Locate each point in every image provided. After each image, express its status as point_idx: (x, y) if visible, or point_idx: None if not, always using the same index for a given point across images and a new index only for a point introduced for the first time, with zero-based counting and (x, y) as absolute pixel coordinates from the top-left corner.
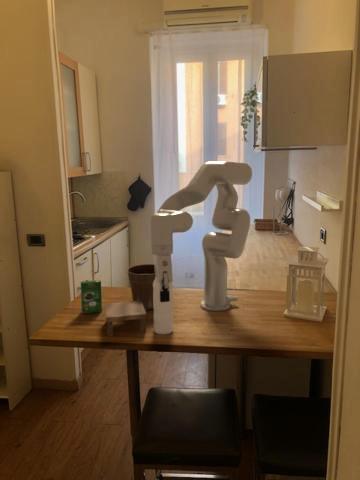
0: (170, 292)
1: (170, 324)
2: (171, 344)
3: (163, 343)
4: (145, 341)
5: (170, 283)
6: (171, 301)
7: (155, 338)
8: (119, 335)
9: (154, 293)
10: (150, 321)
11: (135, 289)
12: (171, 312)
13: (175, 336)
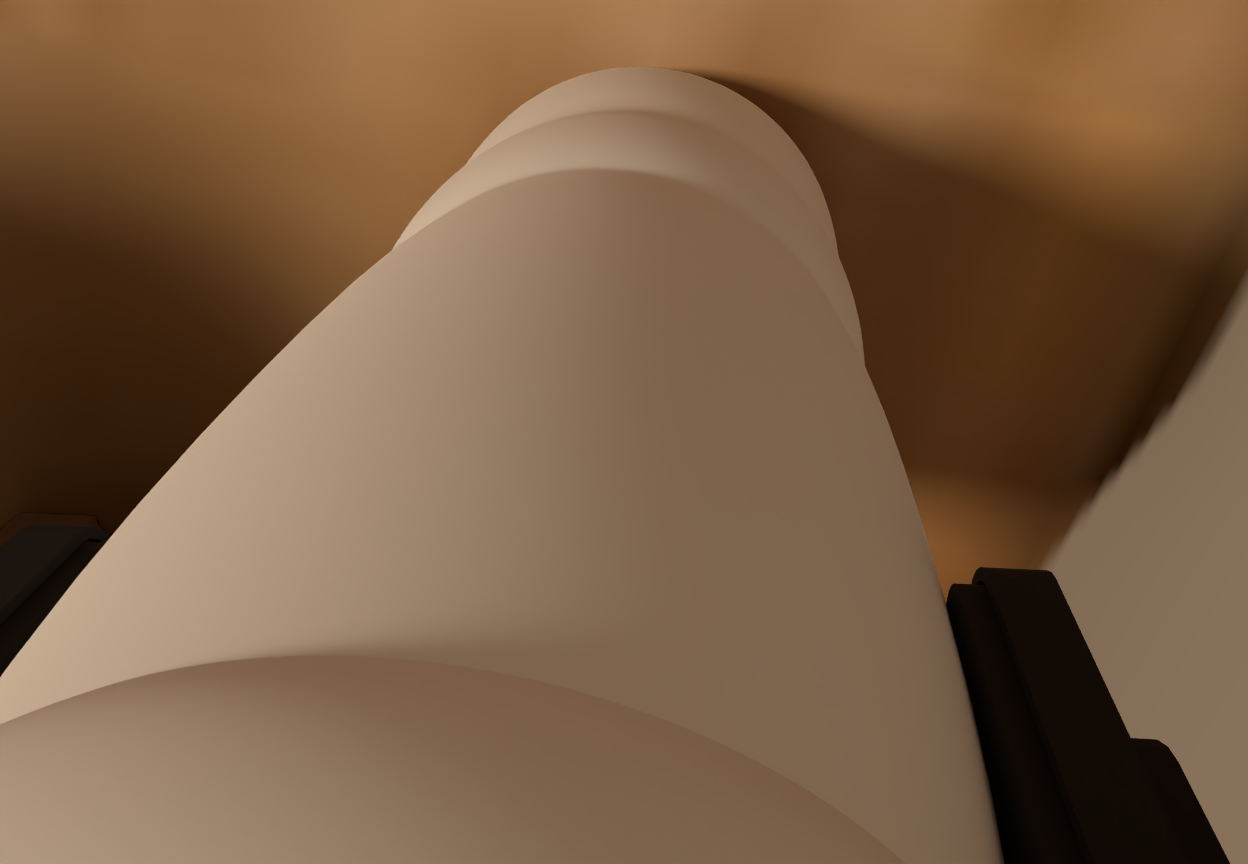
0: (912, 703)
1: (805, 195)
2: (1245, 231)
3: (1139, 357)
4: (945, 597)
5: None
6: (824, 385)
7: (896, 442)
8: None
9: None
10: (186, 394)
11: None
12: (773, 237)
13: (948, 78)
